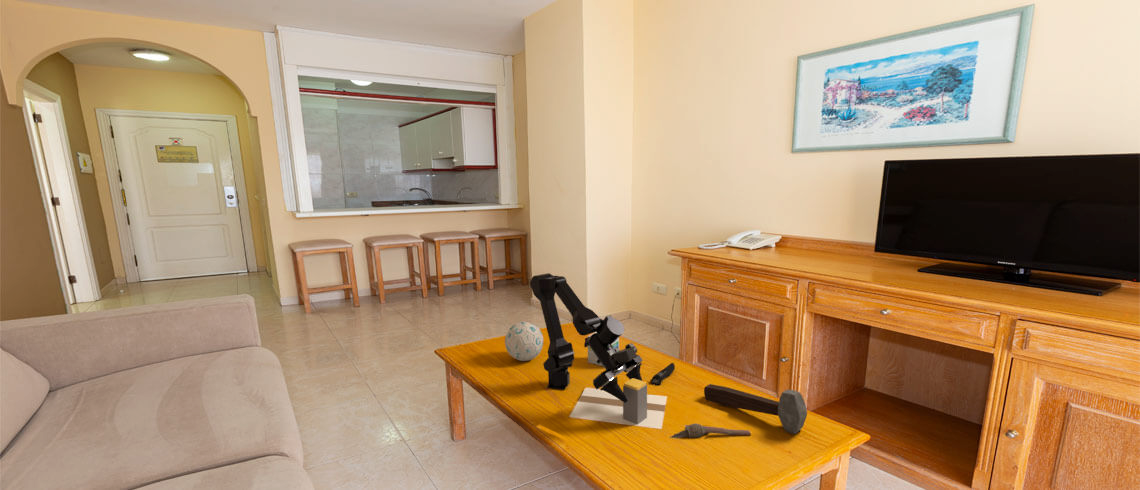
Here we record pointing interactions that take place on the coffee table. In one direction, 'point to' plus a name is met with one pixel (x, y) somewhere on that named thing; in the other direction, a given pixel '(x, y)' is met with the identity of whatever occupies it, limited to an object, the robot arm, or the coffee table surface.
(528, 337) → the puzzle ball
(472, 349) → the coffee table surface
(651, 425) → the board
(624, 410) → the yellow-topped grey block
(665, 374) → the electric trimmer
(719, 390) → the hammer
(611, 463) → the coffee table surface
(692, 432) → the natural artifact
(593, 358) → the light bulb box
